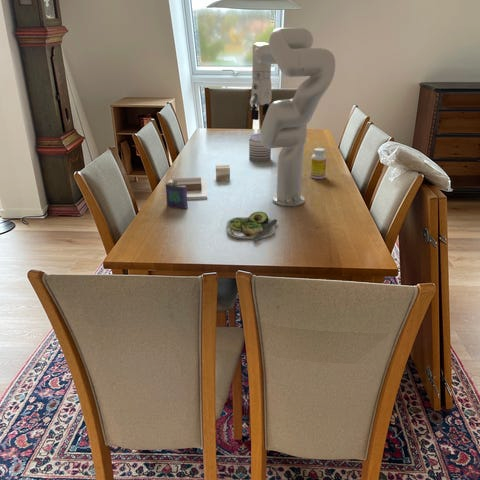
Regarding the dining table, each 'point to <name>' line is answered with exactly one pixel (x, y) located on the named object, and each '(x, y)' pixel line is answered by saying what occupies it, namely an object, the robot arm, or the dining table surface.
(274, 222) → the salad plate
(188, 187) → the plinth
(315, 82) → the robot arm
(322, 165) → the supplement bottle
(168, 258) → the dining table surface
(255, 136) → the can
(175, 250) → the dining table surface
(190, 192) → the plate
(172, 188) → the flask
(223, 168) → the birch block
